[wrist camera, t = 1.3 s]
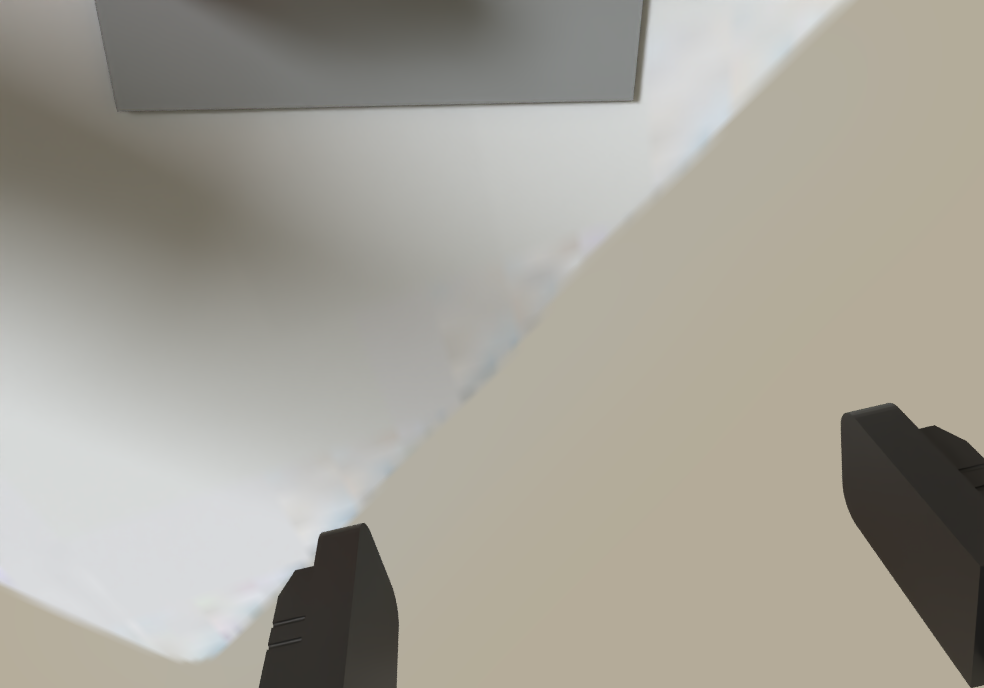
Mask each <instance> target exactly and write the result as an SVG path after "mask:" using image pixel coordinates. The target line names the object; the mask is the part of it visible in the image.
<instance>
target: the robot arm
mask: <svg viewBox="0 0 984 688" xmlns="http://www.w3.org/2000/svg"><path fill="white" fill-rule="evenodd" d="M841 448H842V481H843V492H844V497H845V500H846V504H847V507H848V510H849V512H850V514H851V517H852V519H853V520H854V522H855V524H856V525H857V527H858V528H859V530H860V531H861V532H862V534H863V535H864V537H865V538H866V539H867V541H868V542H869V544H870V545H871V547H872V548H873V550H874V551H875V552H876V554H877V555H878V557H879V558H880V559H881V561H882V562H883V564H884V565H885V567H886V568H887V569H888V571H889V572H890V574H891V575H892V576H893V578H894V579H895V581H896V582H897V584H898V585H899V587H900V588H901V589H902V591H903V592H904V594H905V595H906V596H907V598H908V599H909V601H910V602H911V604H912V605H913V606H914V608H915V609H916V611H917V612H918V613H919V615H920V616H921V618H922V619H923V621H924V622H925V623H926V625H927V626H928V628H929V629H930V631H931V632H932V633H933V635H934V636H935V637H936V639H937V641H938V642H939V643H940V645H941V646H942V648H943V649H944V651H945V652H946V653H947V655H948V656H949V657H950V659H951V660H952V662H953V663H954V665H955V666H956V668H957V669H958V670H959V672H960V673H961V674H962V676H963V678H964V679H965V680H966V682H967V683H968V685H969V686H970V687H971V688H973V687H978V686H982V685H984V458H983V457H982V456H981V455H980V454H979V453H978V452H977V451H976V450H975V449H974V448H973V447H972V446H971V445H970V444H969V443H968V442H967V441H965V440H963V439H961V438H959V437H957V436H955V435H953V434H951V433H949V432H947V431H945V430H943V429H941V428H939V427H937V426H935V425H934V426H929V427H925V428H921V429H918V427H917V426H916V425H915V424H914V423H913V422H912V421H911V420H910V419H909V418H908V417H907V416H906V415H905V414H904V413H903V412H902V411H901V410H900V409H899V408H898V407H897V406H896V405H895V404H893V403H887V404H883V405H878V406H874V407H870V408H865V409H861V410H857V411H852V412H848V413H845V414H844V415H843V416H842V419H841ZM398 632H399V620H398V610H397V604H396V599H395V595H394V591H393V588H392V585H391V583H390V580H389V578H388V575H387V573H386V570H385V568H384V565H383V563H382V560H381V557H380V555H379V552H378V550H377V547H376V545H375V542H374V540H373V537H372V535H371V532H370V530H369V528H368V526H367V525H366V524H365V523H362V524H357V525H353V526H348V527H344V528H340V529H335V530H331V531H327V532H322V533H321V534H320V536H319V539H318V544H317V550H316V556H315V562H314V566H312V567H308V568H303V569H299V570H295V572H294V573H293V575H292V576H291V578H290V579H289V581H288V582H287V584H286V585H285V587H284V588H283V590H282V591H281V593H280V595H279V596H278V600H277V605H276V610H275V614H274V619H273V628H272V629H271V633H270V638H269V642H268V646H269V650H267V652H266V657H265V661H264V666H263V670H262V675H261V680H260V685H259V688H396V687H397V686H396V685H397V658H398Z"/></svg>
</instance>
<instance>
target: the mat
mask: <svg viewBox="0 0 984 688" xmlns="http://www.w3.org/2000/svg"><path fill="white" fill-rule="evenodd" d="M95 4H96V9H97V14H98V19H99V24H100V29H101V34H102V39H103V44H104V49H105V54H106V58H107V63H108V68H109V73H110V78H111V83H112V88H113V93H114V98H115V103H116V108H117V111H163V110H210V109H256V108H303V107H349V106H396V105H442V104H489V103H535V102H582V101H628V100H633V96H634V86H635V76H636V66H637V56H638V46H639V36H640V26H641V16H642V6H643V0H95Z"/></svg>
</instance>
